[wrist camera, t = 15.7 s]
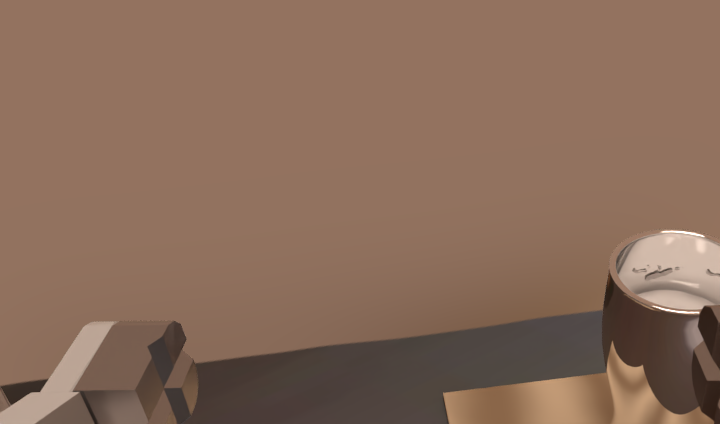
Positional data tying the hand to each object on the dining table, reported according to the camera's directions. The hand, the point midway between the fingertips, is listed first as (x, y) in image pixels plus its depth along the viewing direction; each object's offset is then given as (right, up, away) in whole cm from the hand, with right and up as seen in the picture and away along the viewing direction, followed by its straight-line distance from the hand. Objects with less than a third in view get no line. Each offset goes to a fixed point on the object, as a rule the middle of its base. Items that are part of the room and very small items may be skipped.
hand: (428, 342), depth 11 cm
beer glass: (+17, -13, +31) cm, 38 cm away
